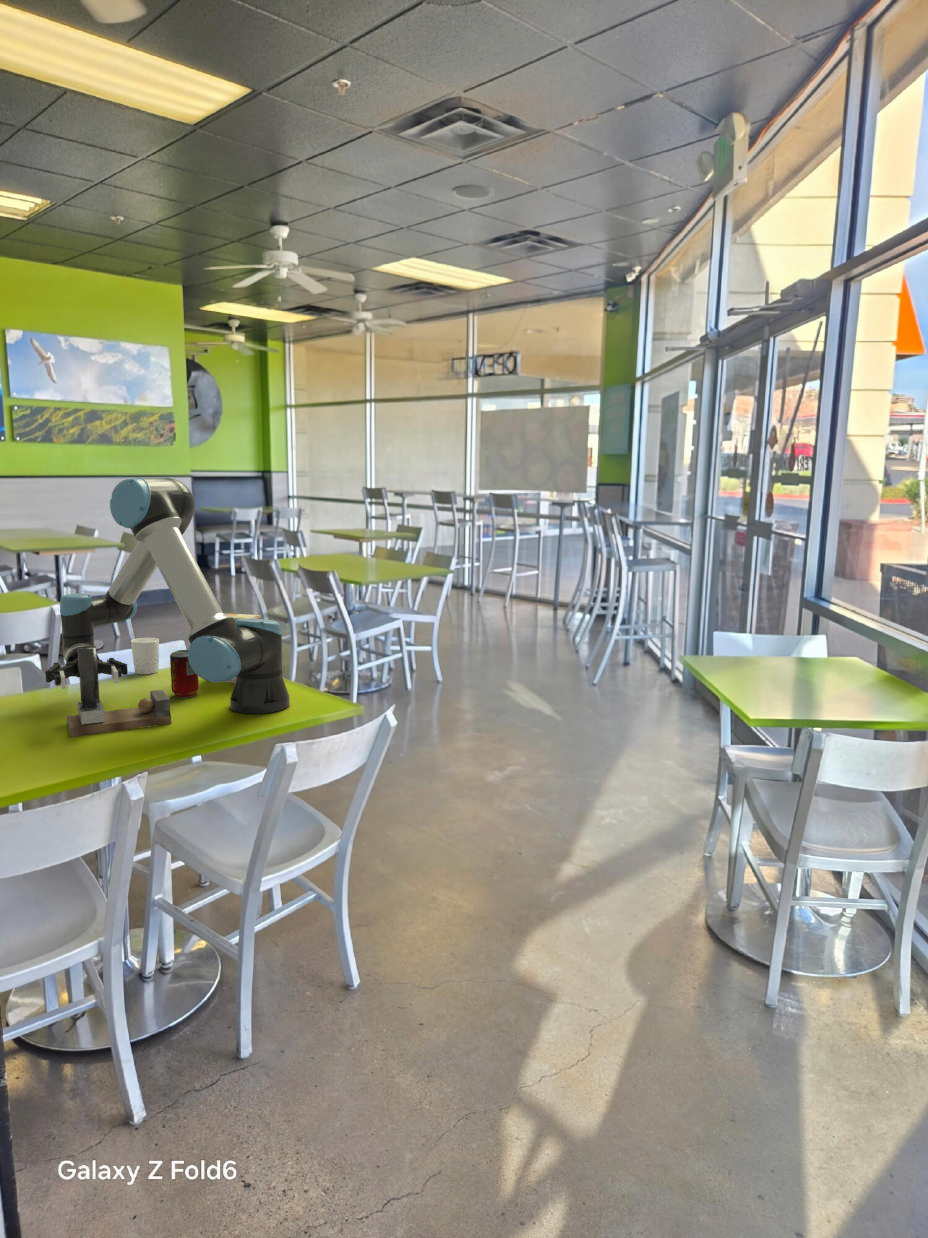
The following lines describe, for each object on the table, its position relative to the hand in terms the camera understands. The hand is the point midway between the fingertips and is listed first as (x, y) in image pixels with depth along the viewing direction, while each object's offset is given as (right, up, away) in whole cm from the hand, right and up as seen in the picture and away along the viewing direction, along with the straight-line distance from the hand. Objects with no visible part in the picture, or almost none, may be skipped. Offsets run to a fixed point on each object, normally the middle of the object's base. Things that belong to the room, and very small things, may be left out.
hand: (90, 680), depth 184 cm
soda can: (+10, -7, +35) cm, 37 cm away
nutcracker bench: (+3, -11, +9) cm, 14 cm away
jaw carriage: (-2, -9, +5) cm, 11 cm away
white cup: (-11, -2, +59) cm, 60 cm away
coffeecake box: (+18, -4, +52) cm, 55 cm away
